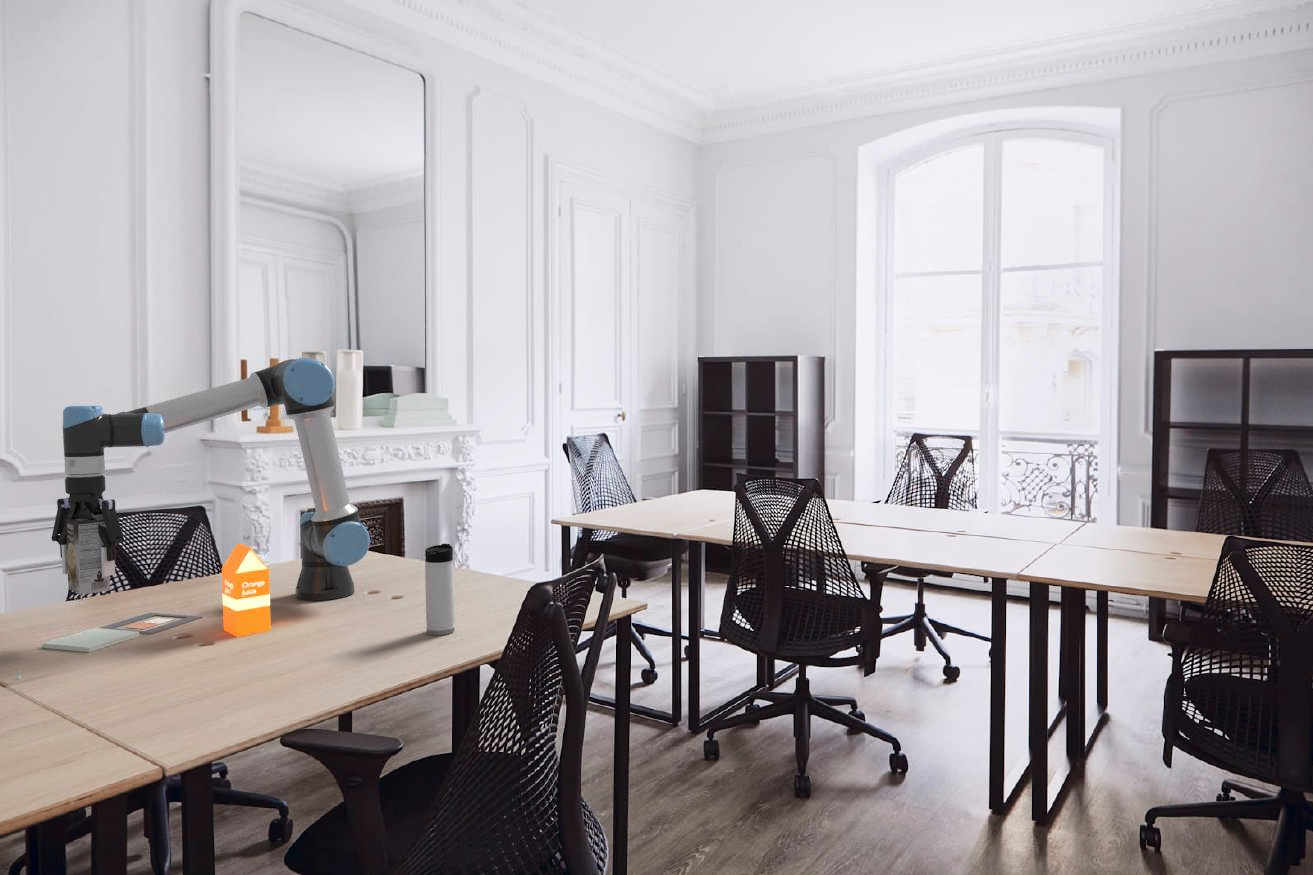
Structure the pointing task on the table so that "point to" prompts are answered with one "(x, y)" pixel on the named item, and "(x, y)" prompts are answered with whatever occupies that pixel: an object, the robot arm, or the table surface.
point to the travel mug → (439, 589)
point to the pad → (91, 640)
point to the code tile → (153, 621)
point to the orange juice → (245, 593)
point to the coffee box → (85, 556)
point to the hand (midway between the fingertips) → (88, 574)
